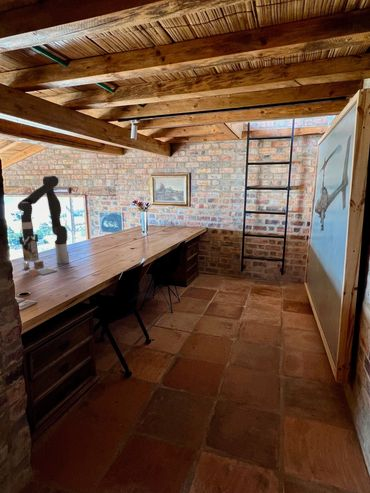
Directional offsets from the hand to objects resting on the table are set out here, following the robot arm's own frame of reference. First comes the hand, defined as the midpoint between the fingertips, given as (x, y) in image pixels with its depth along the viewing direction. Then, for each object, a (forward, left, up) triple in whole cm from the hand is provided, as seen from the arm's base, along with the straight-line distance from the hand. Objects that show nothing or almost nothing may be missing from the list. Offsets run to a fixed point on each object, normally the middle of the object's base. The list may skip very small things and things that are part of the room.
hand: (30, 248), depth 221 cm
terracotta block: (+7, +13, -18) cm, 23 cm away
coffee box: (0, 0, -10) cm, 10 cm away
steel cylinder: (-1, -9, -18) cm, 20 cm away
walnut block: (-9, -5, -18) cm, 21 cm away
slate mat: (-2, +14, -18) cm, 23 cm away
